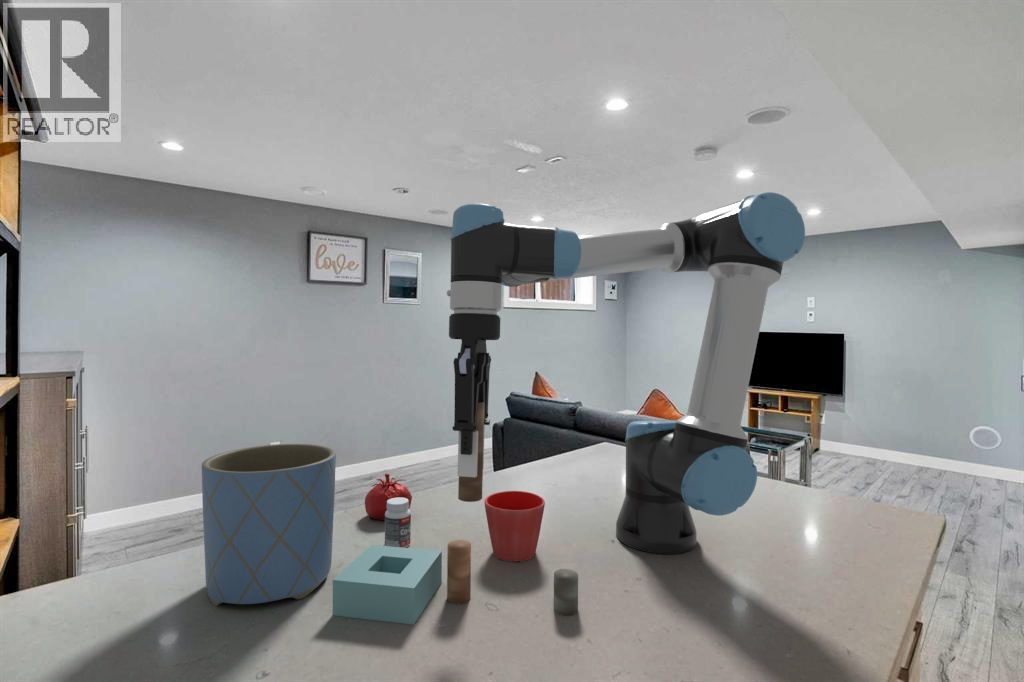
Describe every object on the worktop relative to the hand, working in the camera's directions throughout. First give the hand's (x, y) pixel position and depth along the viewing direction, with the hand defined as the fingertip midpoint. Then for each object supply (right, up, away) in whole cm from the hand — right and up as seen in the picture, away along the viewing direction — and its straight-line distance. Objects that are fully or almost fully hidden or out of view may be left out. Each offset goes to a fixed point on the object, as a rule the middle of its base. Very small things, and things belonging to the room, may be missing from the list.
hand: (470, 471), depth 74 cm
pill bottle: (-15, -19, +20) cm, 32 cm away
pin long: (0, -4, 0) cm, 4 cm away
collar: (-12, -19, +1) cm, 23 cm away
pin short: (+14, -19, -1) cm, 24 cm away
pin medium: (-2, -19, +1) cm, 19 cm away
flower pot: (+6, -19, +17) cm, 27 cm away
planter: (-32, -19, +6) cm, 38 cm away
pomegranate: (-21, -19, +35) cm, 45 cm away
